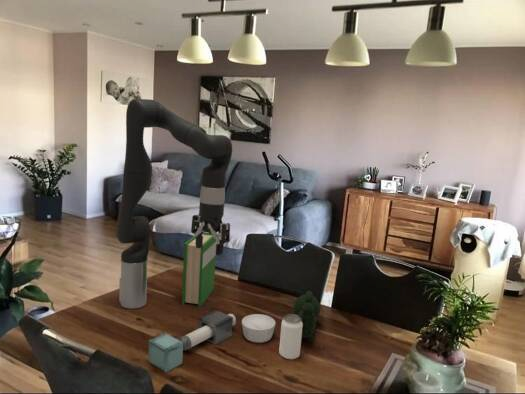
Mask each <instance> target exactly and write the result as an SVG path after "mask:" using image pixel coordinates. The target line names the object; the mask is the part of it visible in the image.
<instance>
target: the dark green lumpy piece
mask: <svg viewBox="0 0 525 394" xmlns="http://www.w3.org/2000/svg"><path fill="white" fill-rule="evenodd" d="M293 312H294V315H298V316H300V317H301V318H302V324H303V326H302V337H301V340H302V339H307V341H308V342H310V343H311V342H314V340H315V337H316V333H315V331H316V329H317V325H316V323H317V318H318V317H319V315H320V314H321V313H320V312H321V304H320V301H319V300H318V299H317V297H315V296H314V294H313V292H312V291H311V290H308V291H306V292H305V294H301V295H299V297H297V298H296V299H295V301H294V302H293Z"/></svg>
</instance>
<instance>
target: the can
mask: <svg viewBox="0 0 525 394" xmlns="http://www.w3.org/2000/svg"><path fill="white" fill-rule="evenodd" d="M302 326H303V324H302V318H301V317H300V316H298V315H295V313H294V314H293V313H289V314H285V315H284V316H283V319H282V320H281V326H280V336H279V338H280V339H279V351H278V353H279V355H280V357H281V358H283V359H286V360H296V359H298V358H299V357H300V355H301V346H302V345H301V344H302V339H301V337H302Z"/></svg>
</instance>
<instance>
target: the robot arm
mask: <svg viewBox="0 0 525 394" xmlns="http://www.w3.org/2000/svg"><path fill="white" fill-rule="evenodd" d="M125 127H126V128H125V129H126V131H125V132H126V133H125V134H126V136H125V137H126V138H125V139H126V142H125V155H124V156H125V157H124V165H123V176H122V189H121V200H120V206H119V211H118V216H117V223H116V237H117V239H118V241H119V242H120V243H121V244H132V245H130V246H129V247H128V248H126V249H124V250H122V252H121V253H120V254H121V255H120V278H119V283H118V284H119V292H118V293H119V294H118V295H119V299H118V302H119V303H120V306H121V307H123V308H124V309H139V308H142V307H144V306H145V305H147V289H148V288H147V287H148V284H147V283H148V255H149V252H150V240H151V224H150V221H149V219H148V218H147V217H146V216H145V215H139V216H138V215H137V216H133V215H134V213H135V208H136V207H137V205H138V203H139V202H140V201H141V200H142V198H143V197H144V195H145V194H146V192H147V191H148V189H149V188H150V185H151V182H152V181H151V180H152V174H153V173H152V172H153V167H152V161H151V159H150V157H149V154H148V152H147V150H146V148H145V145H144V133H145V128H160V129H163V130H166V131H168V132H169V133H170V135H171V136H172V137H173V138H174V139H175V140H176V141H178V142H179V143H180V144H182V145H185V146H186V147H189V148H192V150H193V151H194V152H195V153H197V154H198V155H199V156H200V157H201V158H204V159H208V160H210V164H209V165H207V166H205V167H204V168H203V170H202V174H201V175H202V176H201V186H200V187H201V188H200V194H199V207H198V209H199V210H198V213H197V214H194V215H192V218H191V227H190V233H191V234H194V236H196V243H195V244H196V248H201V247H202V245H203V236H202V235H203V234H204V233H209V234H212V235H213V237H214V238H215V239H216V256H221V255H223V253H224V244H227V243H230V239H231V237H230V236H231V224H230V223H229V222H228V223H227V222H226V223H225V222H223V220H222V218H223V217H224V215H225V214H224V213H225V212H224V211H225V201H226V200H225V199H226V190H225V189H226V187H225V186H226V173H227V171H228V168H229V165H230V162H231V158H232V154H233V144H232V141H231V138H229V137H228V136H226V135H225V134H224V135H223V134H208V133H207V131H206V130H205V129H204V128H203V127H202V126H199V125H198V124H195V123H193V122H190V121H188V120H187V119H184V118H182V117H181V116H179V115H177V114H175V113H174V112H172V111H171V110H170V109H168V108H167V107H166V106H165V105H163V104H161V102H159V101H157V100H154V99H148V98H146V99H143V98H134V99H131V100H130V101H129V102H128V104H127V107H126V115H125Z"/></svg>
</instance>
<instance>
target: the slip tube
mask: <svg viewBox="0 0 525 394" xmlns="http://www.w3.org/2000/svg"><path fill="white" fill-rule="evenodd" d="M227 315H229V316H231V317H233V326H235V325H236V324H237V319H236V316H235V315H234V314H233V313H228V314H227ZM212 336H213V327H212V326H209V325H205V326H203V327H201V328H199V327H198V328H197V329H195V330H193V331H192V332H189V333H187V334H185V335H182V336H181V337H180V338H179V339H178V340H179V341H181V342H183V351H187V350H189V349H191V348H192V347H195V346H197V345H199V344H200V343H202V342H204V341H207V340H206V339H208V338H210V337H212Z"/></svg>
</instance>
